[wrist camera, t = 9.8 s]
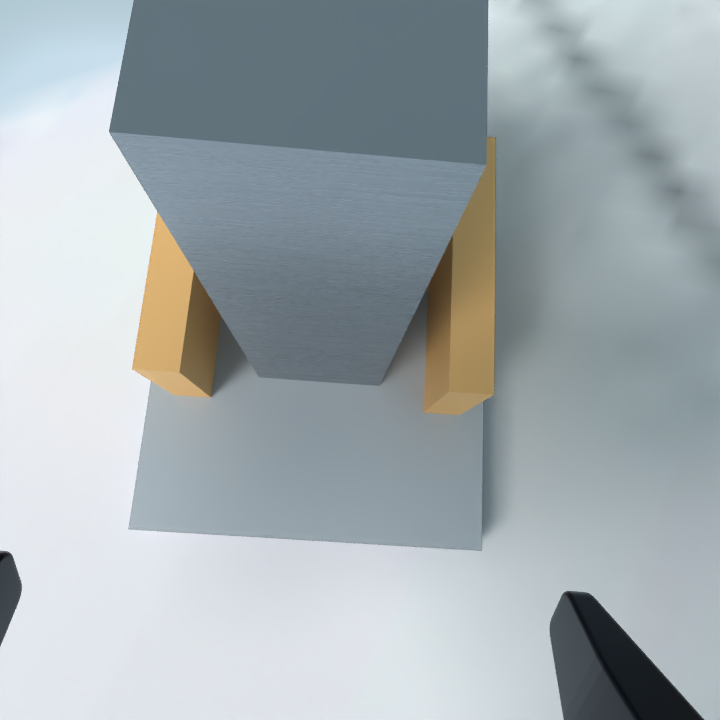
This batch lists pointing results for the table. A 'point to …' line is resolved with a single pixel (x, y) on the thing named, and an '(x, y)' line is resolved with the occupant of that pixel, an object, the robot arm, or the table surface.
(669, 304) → the table surface
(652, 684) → the robot arm
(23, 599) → the table surface
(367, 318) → the rectangular block
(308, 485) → the keeper bracket
